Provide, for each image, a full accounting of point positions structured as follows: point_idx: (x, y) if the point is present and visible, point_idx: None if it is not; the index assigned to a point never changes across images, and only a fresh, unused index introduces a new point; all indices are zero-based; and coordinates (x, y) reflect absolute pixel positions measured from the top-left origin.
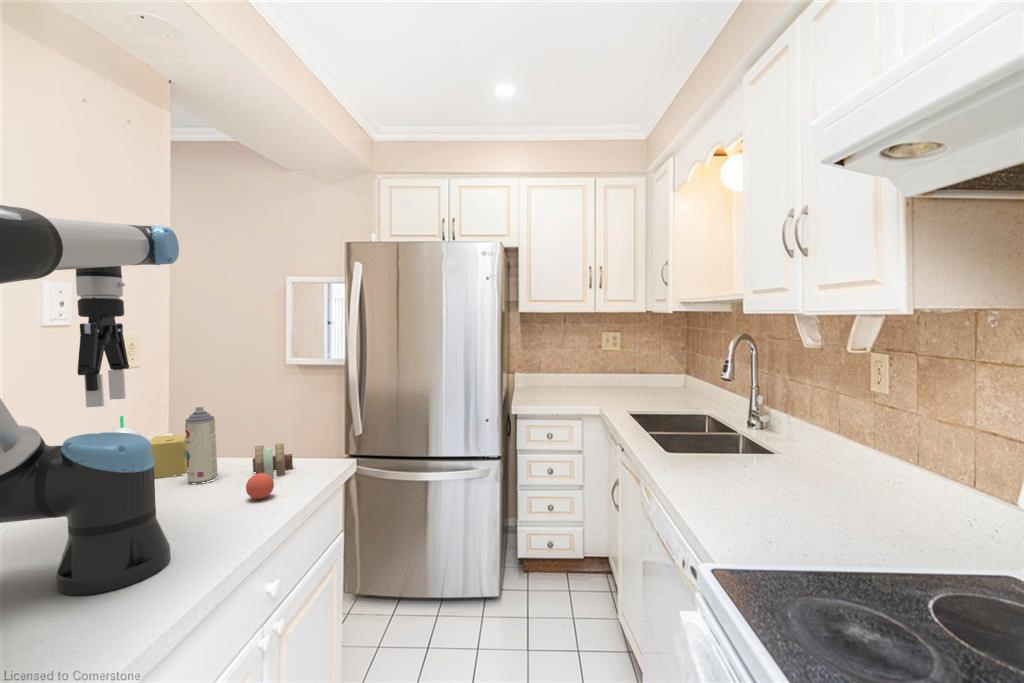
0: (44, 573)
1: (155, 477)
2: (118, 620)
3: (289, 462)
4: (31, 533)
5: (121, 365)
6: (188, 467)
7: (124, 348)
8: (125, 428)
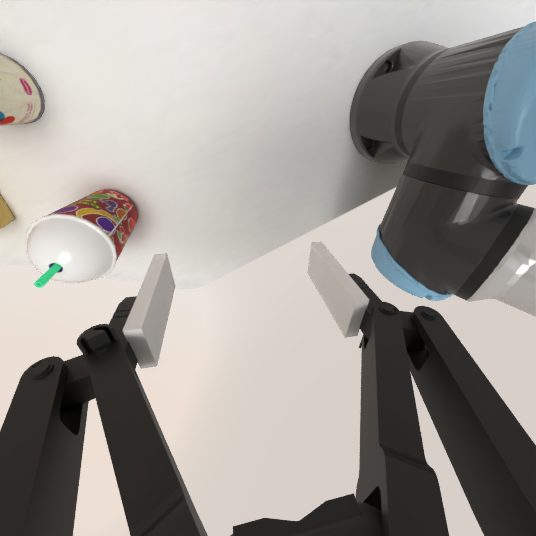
0: (353, 186)
1: (3, 201)
2: None
3: None
4: (237, 252)
5: (125, 353)
6: (15, 118)
7: (4, 484)
8: (61, 258)
